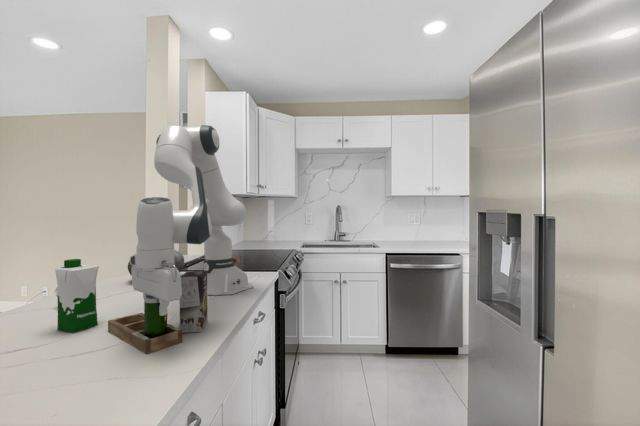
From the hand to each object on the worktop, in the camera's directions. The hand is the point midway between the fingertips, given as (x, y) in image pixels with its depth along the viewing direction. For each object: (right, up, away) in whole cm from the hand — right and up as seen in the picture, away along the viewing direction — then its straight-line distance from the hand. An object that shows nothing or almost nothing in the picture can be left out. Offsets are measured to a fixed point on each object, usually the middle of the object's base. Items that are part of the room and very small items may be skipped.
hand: (156, 312), depth 85 cm
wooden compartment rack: (-6, -8, +5) cm, 11 cm away
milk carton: (-29, -8, +12) cm, 33 cm away
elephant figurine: (-46, -8, +33) cm, 57 cm away
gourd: (-38, -8, +76) cm, 86 cm away
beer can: (0, -8, 0) cm, 8 cm away
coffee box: (+5, -8, +12) cm, 15 cm away
